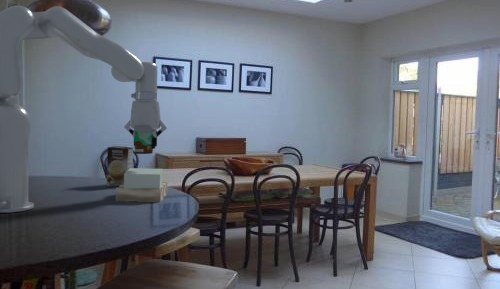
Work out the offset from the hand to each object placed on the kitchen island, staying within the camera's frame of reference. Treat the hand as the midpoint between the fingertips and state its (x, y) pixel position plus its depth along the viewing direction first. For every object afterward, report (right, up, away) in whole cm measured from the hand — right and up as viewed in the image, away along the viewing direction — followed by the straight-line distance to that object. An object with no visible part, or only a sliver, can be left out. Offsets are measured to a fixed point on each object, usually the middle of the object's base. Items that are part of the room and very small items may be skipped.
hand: (145, 147), depth 158 cm
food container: (0, -2, 0) cm, 2 cm away
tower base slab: (-1, -18, +1) cm, 18 cm away
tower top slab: (-1, -13, +1) cm, 13 cm away
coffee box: (-17, -16, +25) cm, 34 cm away
